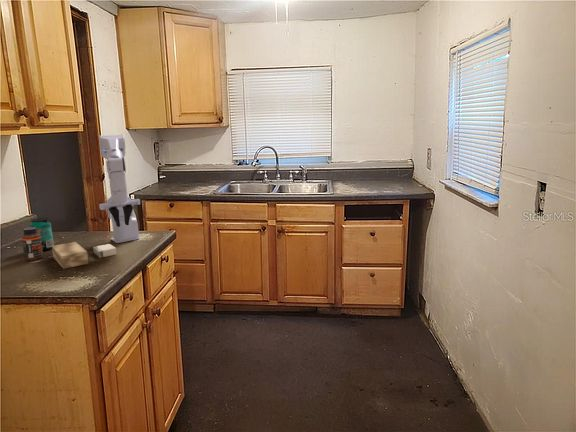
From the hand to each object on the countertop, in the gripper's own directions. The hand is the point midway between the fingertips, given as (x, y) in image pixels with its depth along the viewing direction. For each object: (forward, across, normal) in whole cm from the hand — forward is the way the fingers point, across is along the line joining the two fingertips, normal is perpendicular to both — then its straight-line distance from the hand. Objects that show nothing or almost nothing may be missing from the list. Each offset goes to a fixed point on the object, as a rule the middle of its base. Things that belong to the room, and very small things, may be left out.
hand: (122, 225), depth 165 cm
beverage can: (+10, -24, +22) cm, 34 cm away
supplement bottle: (+10, -29, +12) cm, 33 cm away
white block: (+10, -8, 0) cm, 12 cm away
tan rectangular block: (+9, -20, 0) cm, 22 cm away
